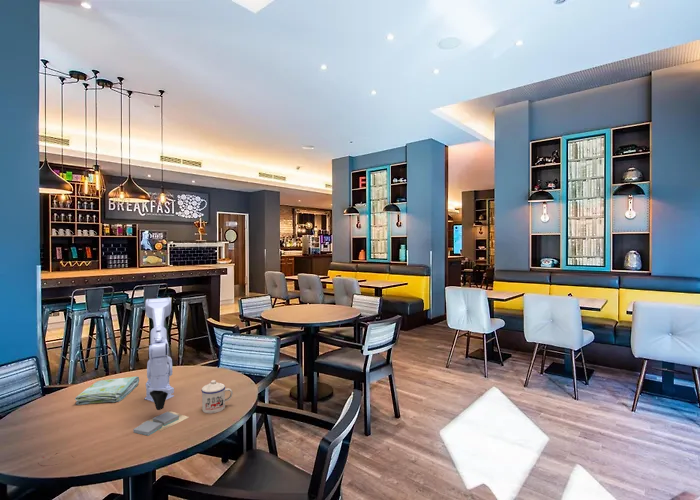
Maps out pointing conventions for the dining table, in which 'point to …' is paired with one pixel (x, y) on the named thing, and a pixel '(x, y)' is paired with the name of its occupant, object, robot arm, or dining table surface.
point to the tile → (166, 418)
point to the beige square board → (181, 418)
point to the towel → (107, 390)
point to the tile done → (147, 428)
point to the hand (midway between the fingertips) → (160, 408)
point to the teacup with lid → (214, 397)
